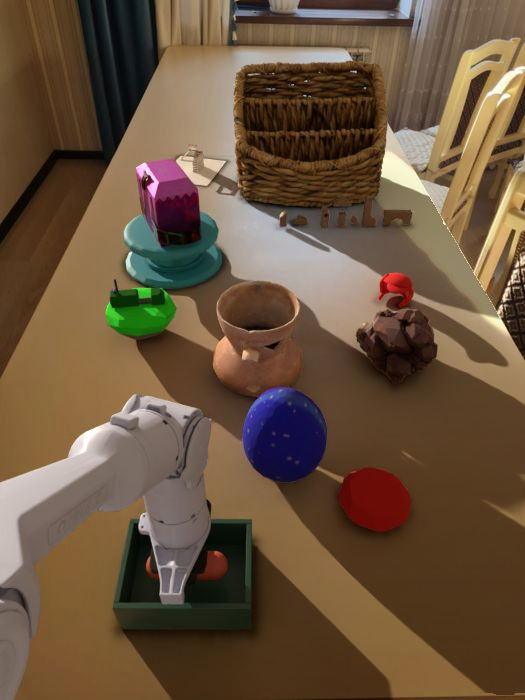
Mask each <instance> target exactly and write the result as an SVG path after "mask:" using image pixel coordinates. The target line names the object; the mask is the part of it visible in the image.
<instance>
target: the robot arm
mask: <svg viewBox="0 0 525 700" xmlns="http://www.w3.org/2000/svg"><path fill="white" fill-rule="evenodd" d="M211 433H212V418H208V417H207V416H204V413H203V411H202V410H201V409H200V408H197V407H193V406H189V405H186V404H181V403H178V402H174V401H170V400H166V399H163V398H159V397H155V396H151V395H144V394H137V393H134V394H133V395H131V397H130V398H129V399H128V400H127V401H126V403H125V405H124V406H123V407H122V409H121V411H119V412H117V413H113V414H112V415H110V421H108V422H105V423H103V424H101V425H98V426H96V427H94V428H91V429H89V430H86V431H85V432H84V433H82V434H80V435H79V436H78V437H77V438H76V439H75V441H74V442H73V444H72V445H71V447H70V449H69V452H68V455H67V458H63V459H61V460H58V461H56V462H52V463H49V464H47V465H44V466H41V467H39V468H36V469H33V470H30V471H27V472H25V473H23V474H22V473H21V474H19V475H17V476H14V477H12V478H9V479H6V480H3V481H0V700H14V699H15V697H16V695H17V693H18V691H19V688H20V686H21V683H22V680H23V677H24V675H25V672H26V668H27V666H28V662H29V661H28V660H29V657H30V649H31V647H30V646H31V640H32V639H34V638H35V636H36V634H37V632H38V629H39V623H40V618H41V607H42V606H41V605H42V604H41V601H42V600H41V587H40V582H39V579H38V575H37V572H36V568H35V566H36V565H37V564H38V563H39V562H40V561H41V560H42V559H43V558H45V557H46V556H47V555H48V554H49V553H50V552H51V551H53V550H54V549H55V548H56V547H57V546H58V545H59V544H60V543H61V542H63V541H64V540H65V539H66V538H67V537H68V536H70V535H71V534H72V533H73V532H74V531H75V530H76V529H78V528H79V526H81V525H82V524H83V523H84V522H85V521H86V520H88V518H90V517H91V516H92V515H93V514H94V513H95V512H96V511H99V512H104V513H115V512H117V513H118V512H119V511H123V510H125V509H128V508H129V507H130V506H132V505H133V504H135V502H137V501H138V500H140V499H141V498H142V499H143V503H144V507H145V511H146V512H143V513H142V514H141V515H140V517H139V519H140V521H139V532H140V533H141V534H143V535H149V536H150V537H151V542H152V546H153V548H152V549H151V555H150V562H149V565H150V569H151V571H152V573H153V574H159V577H160V598H161V602H162V604H184V596H185V595H184V587H185V585H194V584H195V582H196V580H197V576H198V575H199V574H203V573H204V572H205V570H206V567H207V558H208V550H201V549H202V547H203V545H204V543H205V541H206V539H207V537H208V534H209V532H210V528H211V519H212V503H211V501H210V500H209V499H207V492H206V483H205V482H206V481H205V474H204V471H205V470H206V468H207V465H208V459H209V444H210V438H211V435H212V434H211Z"/></svg>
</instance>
